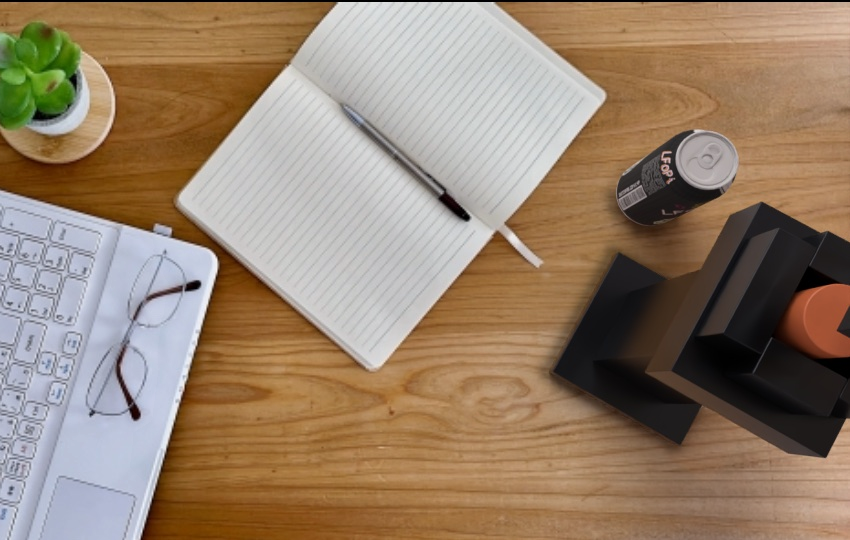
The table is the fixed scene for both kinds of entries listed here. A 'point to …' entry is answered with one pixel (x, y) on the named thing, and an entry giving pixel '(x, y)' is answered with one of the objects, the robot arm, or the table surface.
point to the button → (816, 322)
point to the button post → (717, 338)
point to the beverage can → (677, 177)
